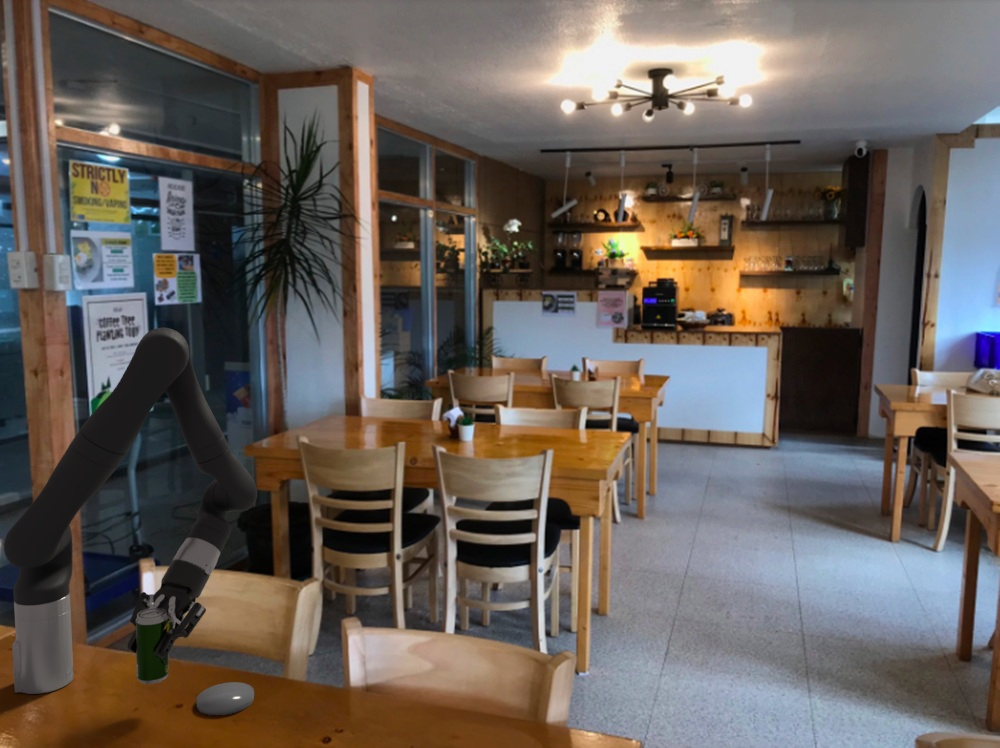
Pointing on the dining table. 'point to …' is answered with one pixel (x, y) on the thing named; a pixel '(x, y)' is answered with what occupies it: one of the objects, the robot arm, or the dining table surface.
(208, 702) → the smooth grey oval object
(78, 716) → the dining table surface
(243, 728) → the dining table surface
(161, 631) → the beer can
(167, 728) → the dining table surface
